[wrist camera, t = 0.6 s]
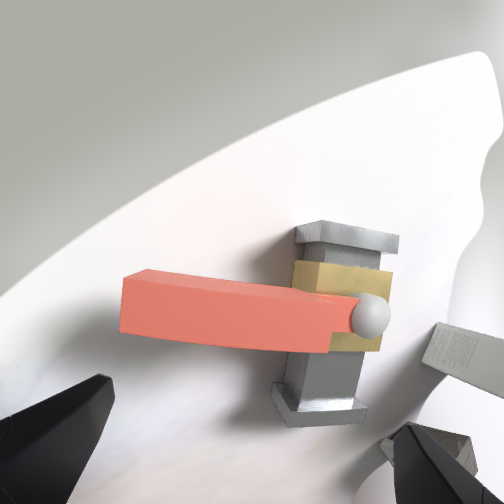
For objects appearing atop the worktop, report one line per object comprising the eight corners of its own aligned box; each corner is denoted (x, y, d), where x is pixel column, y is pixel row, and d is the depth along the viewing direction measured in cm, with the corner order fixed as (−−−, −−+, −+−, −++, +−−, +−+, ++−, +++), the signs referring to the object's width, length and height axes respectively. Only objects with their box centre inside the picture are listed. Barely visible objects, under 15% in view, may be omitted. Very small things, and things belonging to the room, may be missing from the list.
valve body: (336, 396, 23) (363, 422, 19) (270, 396, 22) (287, 427, 18) (363, 238, 24) (399, 235, 19) (296, 226, 23) (322, 220, 18)
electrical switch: (374, 441, 24) (437, 485, 15) (412, 405, 25) (479, 436, 16) (400, 480, 25) (452, 517, 16) (432, 449, 26) (487, 479, 17)
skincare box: (468, 336, 26) (557, 362, 14) (452, 374, 26) (537, 412, 14) (436, 319, 25) (539, 346, 13) (418, 361, 25) (514, 406, 13)
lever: (375, 293, 18) (432, 306, 13) (368, 331, 18) (422, 356, 13) (147, 265, 16) (124, 272, 11) (142, 310, 16) (118, 337, 10)
